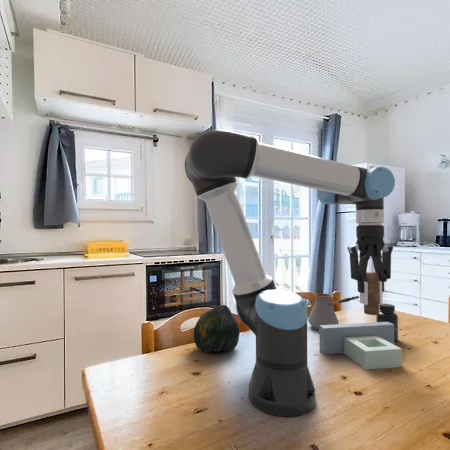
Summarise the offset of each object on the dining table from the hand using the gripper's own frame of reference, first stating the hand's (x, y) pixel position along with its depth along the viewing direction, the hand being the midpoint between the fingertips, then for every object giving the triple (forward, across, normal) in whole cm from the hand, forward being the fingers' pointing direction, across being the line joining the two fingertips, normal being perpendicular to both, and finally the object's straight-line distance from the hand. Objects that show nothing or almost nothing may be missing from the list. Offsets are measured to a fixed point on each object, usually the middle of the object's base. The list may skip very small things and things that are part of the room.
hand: (371, 303), depth 90 cm
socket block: (+17, 0, 0) cm, 17 cm away
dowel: (+3, 0, 0) cm, 3 cm away
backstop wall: (+17, 0, +7) cm, 18 cm away
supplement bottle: (+17, +16, +15) cm, 27 cm away
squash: (+17, -44, +16) cm, 50 cm away
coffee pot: (+17, +2, +26) cm, 31 cm away
